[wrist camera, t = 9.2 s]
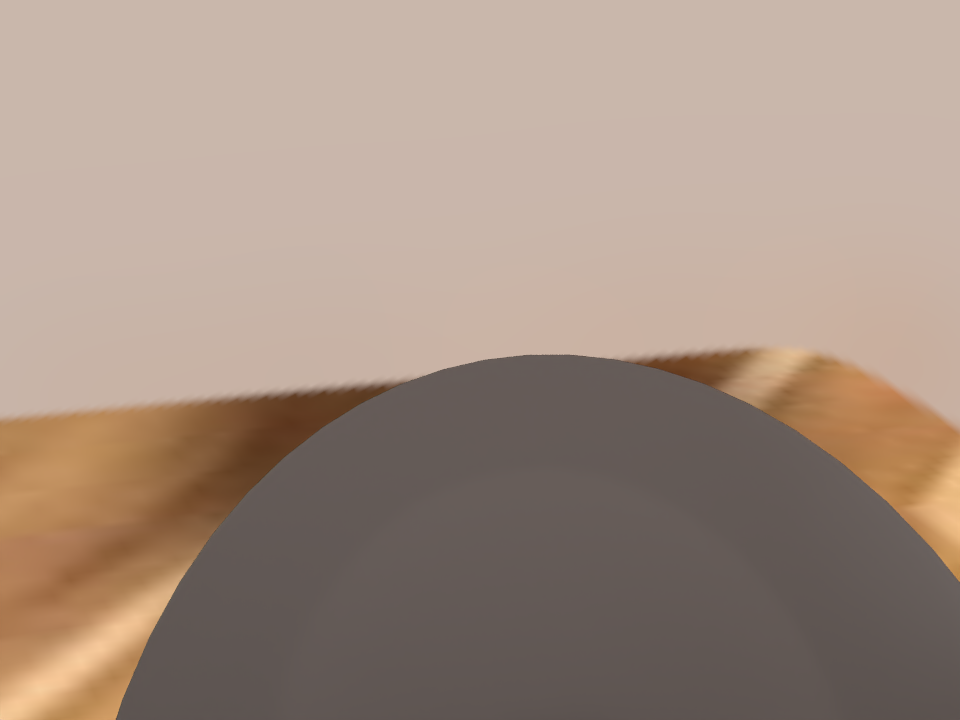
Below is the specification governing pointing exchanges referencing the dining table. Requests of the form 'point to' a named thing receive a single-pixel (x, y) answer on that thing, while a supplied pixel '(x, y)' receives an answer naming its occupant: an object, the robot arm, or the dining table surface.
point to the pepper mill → (557, 567)
